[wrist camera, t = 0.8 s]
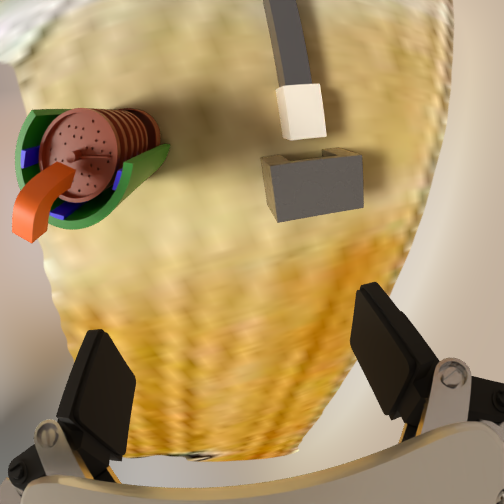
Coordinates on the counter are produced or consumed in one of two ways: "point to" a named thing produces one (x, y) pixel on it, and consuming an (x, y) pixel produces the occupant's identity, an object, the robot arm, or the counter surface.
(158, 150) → the motor
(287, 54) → the plug
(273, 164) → the housing
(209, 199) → the counter surface
